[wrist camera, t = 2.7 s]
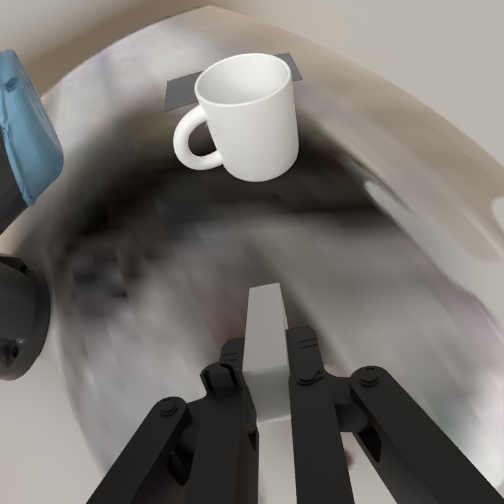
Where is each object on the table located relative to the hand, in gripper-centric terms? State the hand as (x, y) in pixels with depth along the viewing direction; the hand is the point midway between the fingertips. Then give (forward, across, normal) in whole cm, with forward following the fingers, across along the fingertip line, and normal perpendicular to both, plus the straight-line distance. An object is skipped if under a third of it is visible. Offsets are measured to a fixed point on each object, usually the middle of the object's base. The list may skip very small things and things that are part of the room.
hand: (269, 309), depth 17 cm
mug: (+20, -1, +7) cm, 21 cm away
